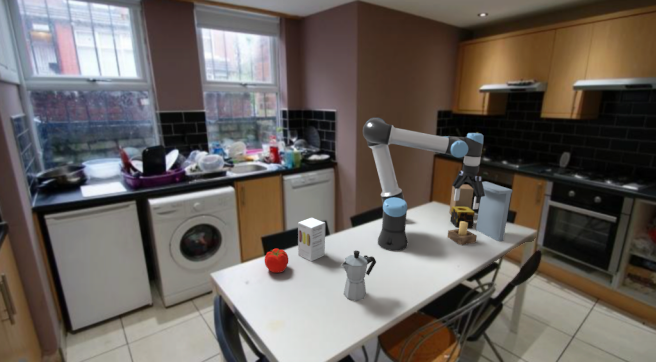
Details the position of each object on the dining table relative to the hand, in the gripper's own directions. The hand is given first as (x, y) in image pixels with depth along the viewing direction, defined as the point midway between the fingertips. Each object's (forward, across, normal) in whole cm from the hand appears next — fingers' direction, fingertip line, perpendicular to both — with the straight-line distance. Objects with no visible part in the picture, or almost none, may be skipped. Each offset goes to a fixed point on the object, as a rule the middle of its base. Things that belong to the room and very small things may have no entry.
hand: (465, 204), depth 165 cm
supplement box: (+21, +9, +81) cm, 84 cm away
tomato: (+21, +1, +99) cm, 101 cm away
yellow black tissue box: (+20, +17, -15) cm, 30 cm away
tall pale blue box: (+20, 0, -16) cm, 26 cm away
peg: (+20, 0, 0) cm, 20 cm away
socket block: (+20, 0, 0) cm, 20 cm away
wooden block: (+20, +29, -24) cm, 43 cm away
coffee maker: (+21, -26, +73) cm, 80 cm away
